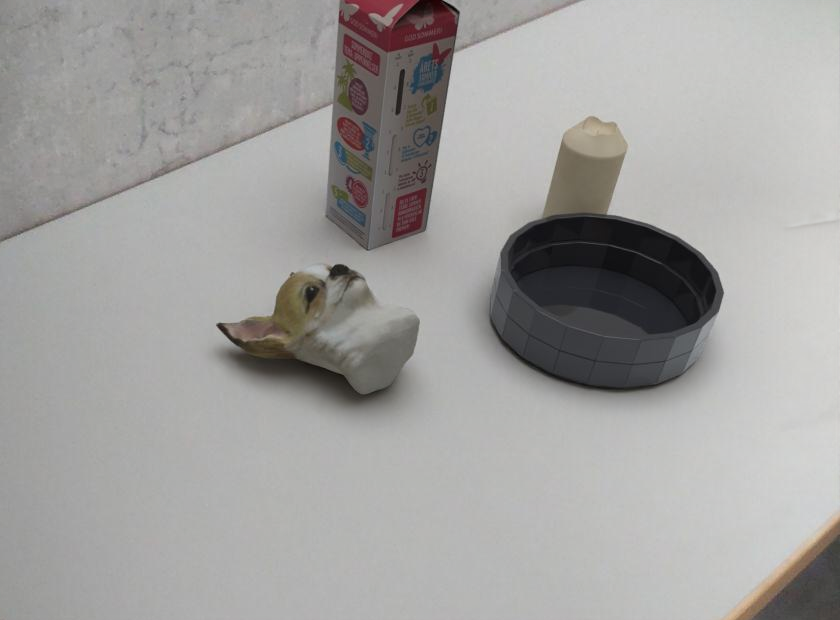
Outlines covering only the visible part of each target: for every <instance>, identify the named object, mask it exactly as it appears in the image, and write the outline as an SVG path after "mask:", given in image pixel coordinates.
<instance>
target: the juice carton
mask: <svg viewBox="0 0 840 620" xmlns="http://www.w3.org/2000/svg"><path fill="white" fill-rule="evenodd" d="M460 15H461V11H460V10H459V9H458V8H457V7H456V6H454V5H453V4H451V3H449V2H448V1H445V0H339V6H338V19H337V21H338V22H337V35H336V50H335V64H334V65H335V66H334V79H333V81H334V82H333V95H332V109H331V125H330V126H331V127H330V141H329V155H328V156H329V157H328V171H327V185H326V200H325V217H326V218H328V219H329V220H330V221H332V222H333V223H334V224H335V225H337V226H338V228H340V229H341V230H342V231H344V233H345V234H347V235H348V236H350V237H351V238H352V239H353V240H354V241H356V242H357V243H358V244H359V245H360V246H362V247H363V248H364V249H365V250H366V251H370V250H373V249H375V248H378V247H381V246H384V245H387V244H391V243H393V242H396V241H399V240H401V239H405V238H408V237H411V236H413V235H417V234H419V233H422V232H424V231H426V230H427V227H428V222H429V214H430V210H431V209H430V207H431V201H432V195H433V189H434V182H435V177H436V176H435V175H436V170H437V163H438V157H439V150H440V143H441V137H442V130H443V125H444V118H445V113H446V112H445V111H446V106H447V105H446V104H447V99H448V92H449V86H450V80H451V73H452V67H453V59H454V53H455V48H456V40H457V35H458V34H457V33H458V28H459V21H460Z"/></svg>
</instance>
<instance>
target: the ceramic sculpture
mask: <svg viewBox="0 0 840 620" xmlns="http://www.w3.org/2000/svg"><path fill="white" fill-rule="evenodd" d="M420 324H421V322H420V318H419V317H418V316H417V314H416V313H415V312H414V309H412V308H410V307H403V306H396V305H391V304H388V303H385V302H383V301H381V300H380V299H378V297H377V296H376V295H375V294H374V293H373V292H372V290H371V289H370V287H369V285H368V283H367V280H366V277H365V276H364V275H363V274H362V273H361V272H359V271H357V270H355V269H352V268H350V267H349V266H348V265H345V264H343V263H337V264H334V265H333V266H332V265H330V264H327V263H314V264H312V265H311V264H310V265H308V266H306V267H304V268H301V269H299V270H298V271H296V272H293V271H291V272H290V274H289V277H288V278H287V279H286V280H285V281H284V282H283V284H282V285H280V287H279V290H278V291H277V294H276V297H275V305H274V309H273V313H272V314H271V315H266V316H250V317H249V316H248V317H246V318H245V319H243V320H240V321H239V322H217V323H215V326H216V327H217V329H218V330H219V331H220V332H221V334H223V335H224V337H226V338H227V339H228V340H229V341H230V342H231V343H232V344H233V345H235V346H236V347H238V348H240V349H241V350H242V351H245V352H246V353H247V354H249V355H251V356H254V357H257V358H262V359H286V360H290V359H291V360H292V359H296V360H298V361H302V362H305V363H307V364H311V365H313V366H316V367H320V368H324V369H326V370H329V371H331V372H334V373H336V374H341V375H343V376H344V378H345V379H346V381H347V382H348V384H350V386H351V387H352V388H353V390H354V391H356V392H357V393H358V394H360V395H364V396H365V395H368V394H371V393H373V392H376V391H380V390H384V389H386V388H387V387H389V386H390V385H392V383H394V381H395V380H396V378H397V376H398V375H399V374H400V372H401V371H402V369H403V367H404V366H405V364H406V363H407V362H409V360H410V359H411V357H413V355H414V352H415V348H416V345H417V342H418V335H419V331H420Z"/></svg>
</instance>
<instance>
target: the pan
mask: <svg viewBox="0 0 840 620" xmlns="http://www.w3.org/2000/svg"><path fill="white" fill-rule="evenodd" d="M721 280H722V279H721V278H720V275H719V272H718V271H717V269H716V268H715V267H714V266H713V264H712V263H711V262H710V261H709V260H708V259H707V257H706V256H705V255H704V254H703V253H702V252H701V251H699V250H698V249H697V248H695V247H694V246H693V245H691V244H690V243H689V242H687V241H685V240H684V239H682V237H679V236H678V235H675V234H674V233H671V232H669V231H666V230H664V229H662V228H659V227H657V226H655V225H652V224H651V223H647V222H644V221H639V220H636V219H631V218H628V217H624V216H621V215H616V214H608V213H607V214H596V213H571V214H558V215H552V216H548V217H545V218H542V217H541V218H539V219H535V220H532V221H528V222H527V223H525V224H524V225H523V226H521V227H520V228H518V229H517V230H516V231H514V232H513V233H511V234H510V235H508V238H507V240H506V241H505V243H504V245H503V246H502V248H501V250H500V252H499V257H498V261H497V266H496V271H495V275H494V279H493V284H492V288H491V292H490V297H489V307H490V309H489V310H490V319H491V321H492V323H493V325H494V327H495V329H496V330H497V333H498V334H499V337H500V338H501V339H502V341H504V342H505V343H506V345H507V346H509V348H511V349H512V350H513V352H515V353H516V354H517V355H518V356H520V357H521V358H522V359H523V360H525V361H526V362H528V363H529V364H530V365H532V366H534V367H536V368H538V369H539V370H541V371H543V372H545V373H548V374H550V375H552V376H554V377H557V378H560V379H561V380H562V379H563V380H566V381H569V382H572V383H576V384H580V385H584V386H588V387H589V386H590V387H595V388H603V389H636V388H642V387H647V386H652V385H653V386H654V385H657V384H660V383H662V382H665V381H668V380H670V379H673V378H675V377H677V376H680V375H682V374H683V373H685V371H686V370H687V369H689V368H690V367H691V366H692V365H693V364H694V363H695V362H696V361H697V360H698V359H699V357H700V355H701V353H702V351H703V348H704V347H705V344H706V342H707V340H708V337H709V335H710V333H711V330H712V328H713V326H714V324H715V322H716V319H717V317H718V316H719V312H720V311H721V307H722V303H723V299H724V295H725V291H724V288H723V284H722V281H721Z"/></svg>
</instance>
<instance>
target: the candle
mask: <svg viewBox="0 0 840 620" xmlns="http://www.w3.org/2000/svg"><path fill="white" fill-rule="evenodd" d="M628 146H629V145H628V143H627V140H626V138H625V137H624V135H623V133H622V132H621V130H620V128H619V126H618V123H617V122H616V121H606V122H605V121H602V120H601V119H600V118H599V117H597V116H594V115H589V116H587V117H585V118H584V119H583V120H582V121H580V122H579V123H577V124H575V125H573V126H572V127H570V128H568V129H567V130H566V131H565V132H563V135H562V139H561V141H560V145H559V149H558V153H557V156H556V160H555V166H554V169H553V173H552V177H551V181H550V183H549V184H550V185H549V189H548V193H547V197H546V201H545V205H544V207H543V212H542V216H541V219H542V218H545V217H548V216H552V215H558V214H571V213H596V214H607V215H608V212H609V208H610V205H611V204H612V203H611V202H612V199H613V196H614V192H615V190H616V186H617V183H618V180H619V176H620V173H621V170H622V167H623V164H624V160H625V157H626V154H627V152H628V148H629V147H628Z"/></svg>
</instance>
